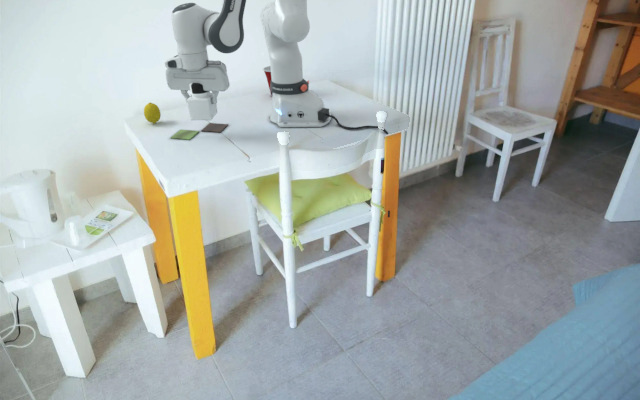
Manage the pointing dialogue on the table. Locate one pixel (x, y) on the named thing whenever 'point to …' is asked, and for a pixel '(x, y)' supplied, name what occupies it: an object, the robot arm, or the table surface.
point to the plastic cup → (268, 75)
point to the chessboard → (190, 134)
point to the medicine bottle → (200, 103)
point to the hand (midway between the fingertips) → (201, 103)
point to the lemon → (152, 113)
